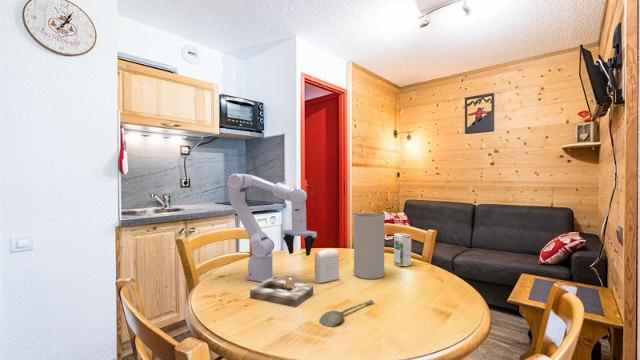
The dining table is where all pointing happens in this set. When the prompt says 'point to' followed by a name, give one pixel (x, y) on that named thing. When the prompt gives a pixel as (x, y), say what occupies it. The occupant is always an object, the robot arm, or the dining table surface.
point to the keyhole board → (278, 299)
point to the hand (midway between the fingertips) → (299, 254)
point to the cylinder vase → (369, 245)
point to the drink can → (402, 249)
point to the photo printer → (326, 265)
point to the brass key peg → (290, 283)
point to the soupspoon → (337, 316)
